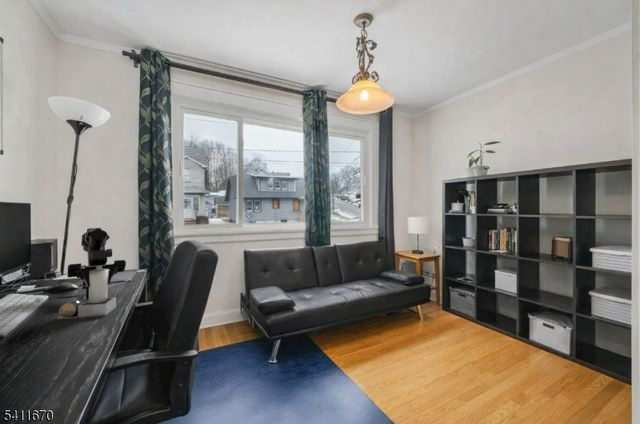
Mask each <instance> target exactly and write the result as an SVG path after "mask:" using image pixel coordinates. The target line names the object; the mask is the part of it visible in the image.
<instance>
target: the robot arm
mask: <svg viewBox="0 0 640 424" xmlns="http://www.w3.org/2000/svg"><path fill="white" fill-rule="evenodd" d="M108 240H110V235H109V234H108V233H107V231H105V230H103V229H102V227H93V228H92V227H89V228H87V229H86V232H84V233H83V234H81V247H83V248H82V250H83V251H84V252H86V253H87V265H86V264H85V265H84V264H83V265H82V263H81V262H80V263H70V264H68V265H67V278H77V279H80V280H81V289H82V290H85V298H87V300H89V271H90V270H94V269H96V266H102V269H108V286H109V285H110V283H111V281H112V278H113V277H114V275H117V274H118V273H123V272H125V271H126V266H127V263H126V262H127V261H126V260H125V259H119V260H118V259H117V260H114V261H113V263H110V264H107V263H108V258H112V257H113V248H107V249H106V244H107V242H108Z"/></svg>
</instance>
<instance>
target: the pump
mask: <svg viewBox="0 0 640 424" xmlns="http://www.w3.org/2000/svg"><path fill="white" fill-rule="evenodd" d="M108 275H109V269H102V266H96V269H94V270H90V271H89V303H99V302H104V301H106V300H107V299H108V298H109V297H108V293H109V285H108Z"/></svg>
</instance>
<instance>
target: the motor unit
mask: <svg viewBox="0 0 640 424" xmlns="http://www.w3.org/2000/svg"><path fill="white" fill-rule="evenodd" d="M115 309H117V297H116V296H113V297H108V299H107V300H106V301H104V302H99V303H89V300H87V298H86V296H77V297H75V298H74V299H72V300H70V301H68V302H66V303H64V304H62V305H61V306H60V307H59V309H58V314H59V316H58V317H56V320H69V319H70V320H71V319H83V318H95V317H107V316H108V315H109V314H110V313H112V311H114V310H115Z"/></svg>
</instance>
